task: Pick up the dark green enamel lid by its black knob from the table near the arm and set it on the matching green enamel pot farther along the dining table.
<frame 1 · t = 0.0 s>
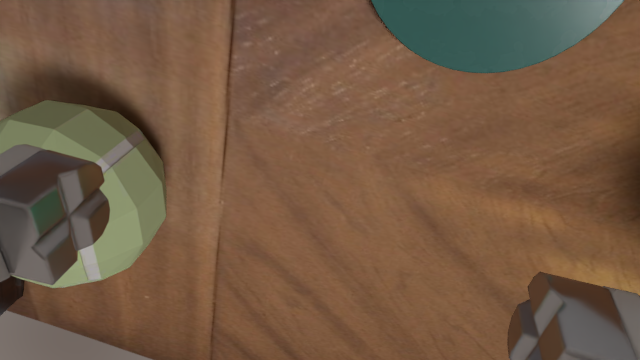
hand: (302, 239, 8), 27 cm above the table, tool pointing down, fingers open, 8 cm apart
tennis ball: (124, 150, 44), on the table
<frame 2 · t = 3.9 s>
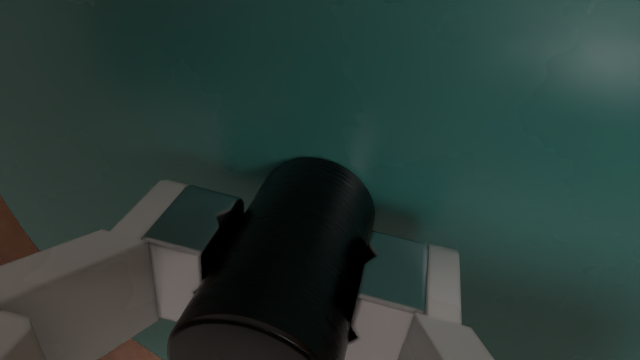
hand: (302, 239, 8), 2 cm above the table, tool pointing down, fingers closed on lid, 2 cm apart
lid: (324, 190, 10), point 1 cm above the table, touching gripper
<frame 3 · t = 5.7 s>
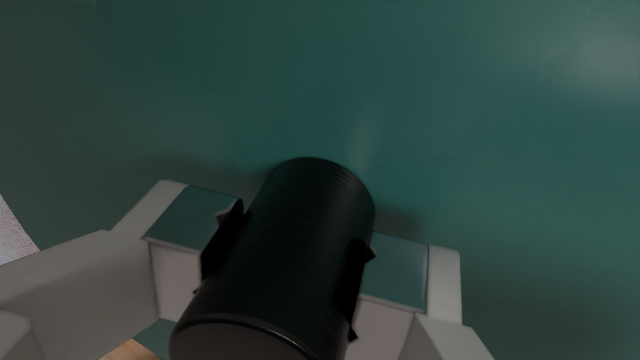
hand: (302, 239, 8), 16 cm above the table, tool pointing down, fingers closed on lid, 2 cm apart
lid: (324, 190, 10), point 15 cm above the table, touching gripper
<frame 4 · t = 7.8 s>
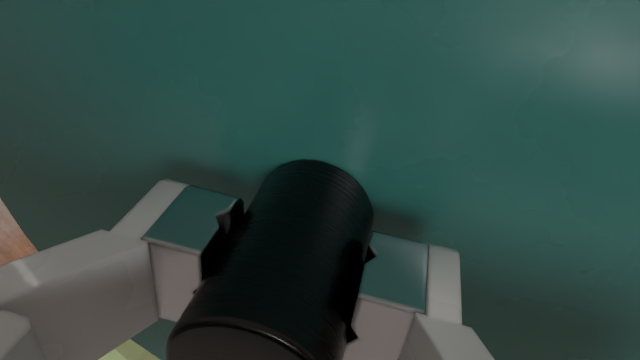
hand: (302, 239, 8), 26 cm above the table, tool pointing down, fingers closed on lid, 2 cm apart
lid: (322, 192, 10), point 24 cm above the table, touching gripper
tennis ball: (130, 300, 56), on the table
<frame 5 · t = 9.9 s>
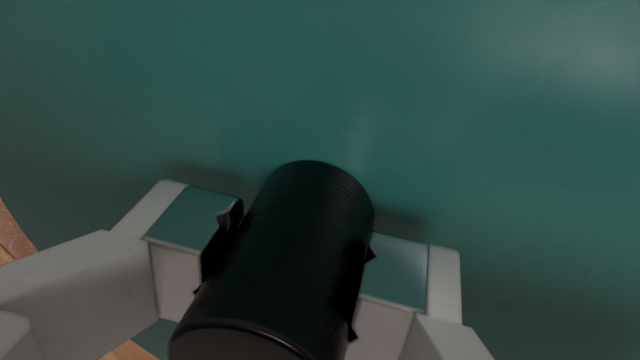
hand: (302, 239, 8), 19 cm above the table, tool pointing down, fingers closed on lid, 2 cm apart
lid: (323, 193, 10), point 17 cm above the table, touching gripper
when the fingers open (12 cm above the table, at t = 11.7 s): lid stays where it is, resting on pot.
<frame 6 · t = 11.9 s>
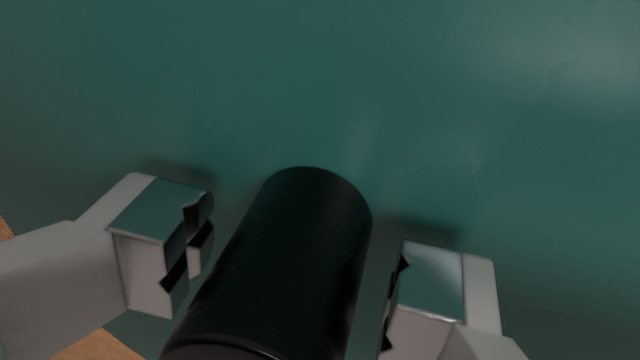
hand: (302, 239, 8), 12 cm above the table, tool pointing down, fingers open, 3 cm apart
lid: (320, 199, 10), point 10 cm above the table, touching pot
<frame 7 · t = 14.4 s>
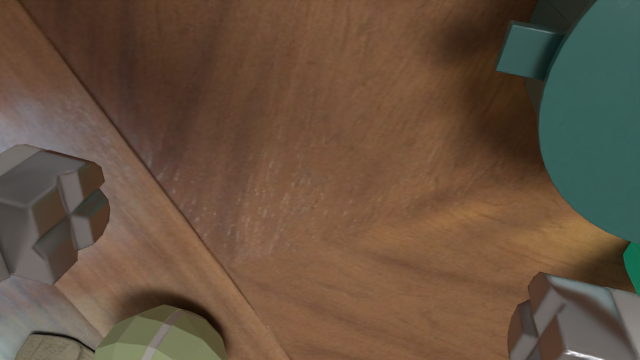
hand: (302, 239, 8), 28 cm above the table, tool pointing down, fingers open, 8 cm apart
tennis ball: (192, 323, 58), on the table
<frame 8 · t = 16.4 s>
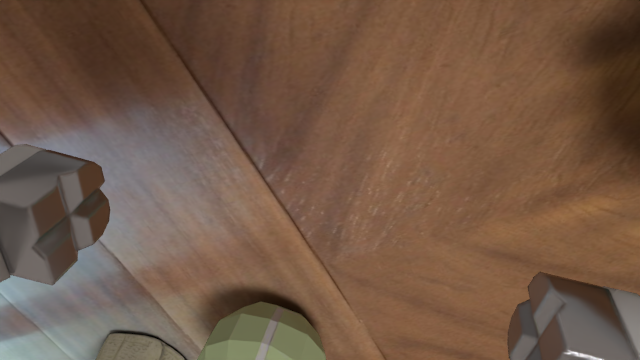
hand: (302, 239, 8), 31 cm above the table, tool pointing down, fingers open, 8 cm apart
tennis ball: (282, 319, 60), on the table
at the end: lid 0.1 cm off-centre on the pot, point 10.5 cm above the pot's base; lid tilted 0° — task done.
